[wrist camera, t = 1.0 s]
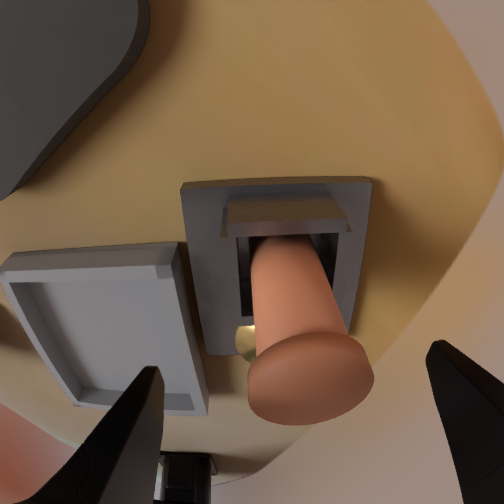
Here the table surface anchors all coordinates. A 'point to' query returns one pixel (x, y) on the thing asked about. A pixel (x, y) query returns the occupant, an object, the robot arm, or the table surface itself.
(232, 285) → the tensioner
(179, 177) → the table surface
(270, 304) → the pin
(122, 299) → the tray
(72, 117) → the media streaming box
